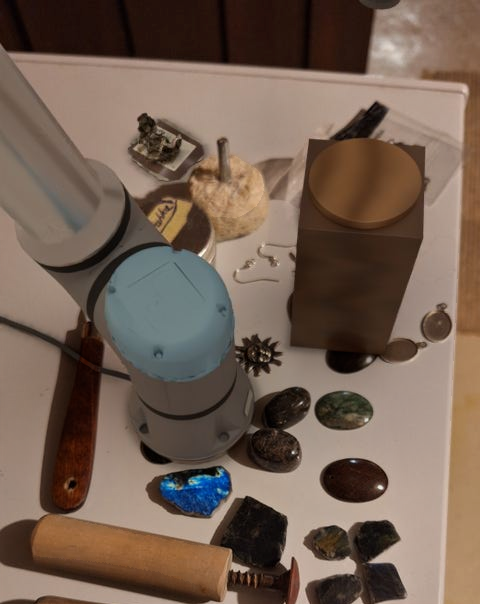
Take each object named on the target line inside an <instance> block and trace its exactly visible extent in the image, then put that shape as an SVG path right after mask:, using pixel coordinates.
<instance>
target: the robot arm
mask: <svg viewBox="0 0 480 604" xmlns="http://www.w3.org/2000/svg"><path fill="white" fill-rule="evenodd" d="M0 208H1V209H2V210H3V211H4V212H5V213H6V214H7V215H8V216H9V218H11V219H12V220H13V221H14V230H15V236H16V240H17V241H18V242H17V243H18V244H19V246H20V247H21V249H22V250H23V251H24V252H25V253H26V255H27V256H29V257H30V259H32V260H33V261H34V262H35V263H36V264H37V265H38V266H40V268H42V269H43V270H44V271H45V272H46V273H47V274H48V275H50V276H51V277H52V278H53V279H54V280H55V281H56V282H57V283H58V284H59V285H60V286H61V287H62V288H63V289H64V290H65V291H66V293H68V295H69V296H70V297H71V298H72V300H73V301H74V302H75V303H76V305H77V306H78V308H79V309H80V310H81V311H82V312H83V313H84V315H85V316H86V317H87V319H88V320H89V321H90V323H91V324H92V325H93V326H94V328H95V329H96V330H97V331H98V333H99V334H100V335H101V337H102V338H103V339H104V340H105V342H106V344H108V346H109V347H110V348H111V349H112V351H113V352H114V353H115V355H116V356H117V357H118V359H119V361H121V363H122V364H123V366H124V368H125V369H126V372H127V373H125V372H121V371H118V370H113V369H111V368H110V369H109V368H105V367H102V366H100V367H101V368H100V372H99V373H100V374H103V375H107V376H111V377H115V378H118V379H121V380H124V381H128V382H131V384H132V385H131V389H130V392H129V399H128V410H129V417H130V421H131V424H132V426H133V429H134V430H135V433H136V435H137V436H138V438H139V439H140V441H141V442H142V443H143V445H144V446H145V447H146V448H147V449H148V450H149V451H151V452H152V453H153V454H155V455H157V456H158V457H160V458H161V459H164V460H166V461H168V462H173V463H176V464H184V465H196V464H197V465H198V464H203V463H209V462H211V461H215V460H217V459H219V458H221V457H223V456H225V455H226V454H228V453H230V452H231V451H232V450H233V449H235V448H236V447H237V446H238V445H239V444H240V443H241V442H242V440H243V439H244V438H245V437H246V435H247V433H248V431H249V430H250V428H251V425H252V423H253V419H254V415H255V392H254V388H253V384H252V381H251V379H250V376H249V375H248V373H247V371H246V370H245V368H244V367H243V366H242V364H241V363H240V362H239V361H238V360H237V355H236V342H235V341H236V340H235V329H236V317H235V311H234V308H233V302H232V299H231V298H230V295H229V291H228V288H227V286H226V283H225V281H224V280H223V278H222V276H221V274H219V272H218V271H217V269H216V268H215V267H214V266H213V265H212V264H210V262H209V261H208V260H207V259H205V258H203V257H202V256H201V255H198V254H197V253H195V252H193V251H191V250H187V249H185V248H182V249H181V250H180V251H178V250H177V249H176V248H175V247H174V246H173V244H172V243H170V241H169V240H168V239H167V238H166V237H165V236H164V235H163V233H161V231H160V230H159V229H158V228H157V227H156V226H155V224H153V222H152V221H150V219H149V218H148V217H147V215H146V214H145V213H144V211H143V210H142V209H141V208H140V206H139V204H138V203H137V202H136V200H135V199H134V197H133V196H132V194H131V193H130V192H129V190H128V189H127V187H126V186H125V184H124V183H123V182H122V180H121V178H119V176H118V175H117V173H116V172H115V170H113V169H112V168H111V167H110V166H108V165H107V164H105V163H104V162H101V161H99V160H97V159H94V158H88V157H84V155H83V154H82V153H81V151H80V150H79V148H78V147H77V146H76V144H75V143H74V141H73V140H72V139H71V138H70V136H69V134H68V133H67V132H66V130H65V129H64V128H63V127H62V125H61V124H60V122H59V121H58V119H56V117H55V116H54V115H53V113H52V112H51V110H50V109H49V108H48V106H47V105H46V103H45V102H44V101H43V99H42V98H41V96H40V95H39V94H38V93H37V91H36V90H35V89H34V87H33V86H32V84H31V83H30V82H29V80H28V79H27V78H26V77H25V75H24V74H23V72H22V71H21V70H20V68H19V67H18V65H17V64H16V63H15V62H14V60H13V58H11V56H10V55H9V53H8V52H7V51H6V49H5V48H4V46H3V45H2V44H1V43H0ZM0 323H1V324H4V325H7V326H9V327H11V328H14V329H16V330H20V331H22V332H25V333H27V334H29V335H32V336H34V337H37V338H39V339H41V340H43V341H45V342H48V343H49V344H51V345H52V346H55V347H57V349H60V350H62V351H63V352H65V353H66V354H67V355H69V356H70V357H72V359H75V360H76V361H77V362H79V356H81V355H80V354H79V353H77V352H76V351H74V350H73V349H71V348H70V347H69V346H67V345H66V344H64V343H62V342H61V341H59V340H57V339H55V338H54V337H52V336H49V335H47V334H46V333H43V332H41V331H39V330H36V329H34V328H33V327H32V328H31V327H29V326H27V325H24V324H22V323H19V322H17V321H14V320H11V319H9V318H6V317H3V316H1V315H0Z"/></svg>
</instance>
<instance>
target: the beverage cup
mask: <svg viewBox="0 0 480 604" xmlns="http://www.w3.org/2000/svg"><path fill="white" fill-rule="evenodd" d="M358 1H359V2H360V3H361V5H363V6H364V7H367V8H369V9H372V10H379V11H383V10H389V9H392V8H394V7H396V6H398V5H399V3H401V1H402V0H358Z"/></svg>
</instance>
